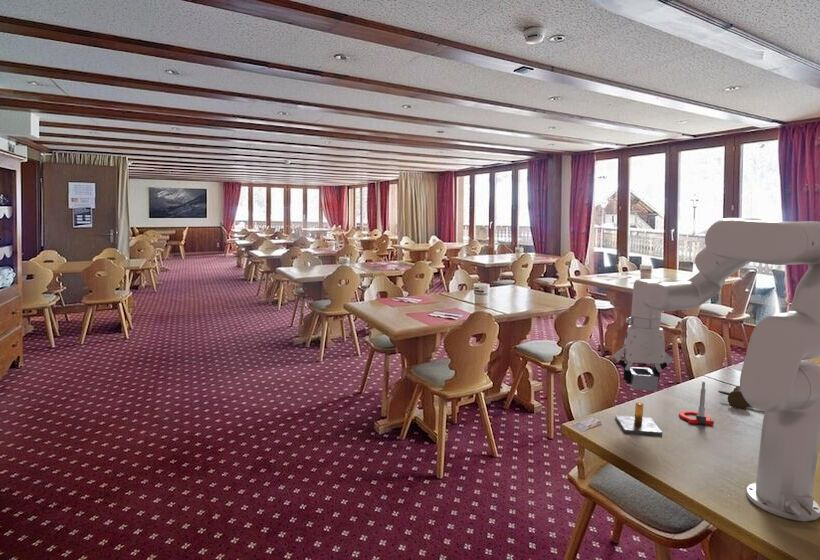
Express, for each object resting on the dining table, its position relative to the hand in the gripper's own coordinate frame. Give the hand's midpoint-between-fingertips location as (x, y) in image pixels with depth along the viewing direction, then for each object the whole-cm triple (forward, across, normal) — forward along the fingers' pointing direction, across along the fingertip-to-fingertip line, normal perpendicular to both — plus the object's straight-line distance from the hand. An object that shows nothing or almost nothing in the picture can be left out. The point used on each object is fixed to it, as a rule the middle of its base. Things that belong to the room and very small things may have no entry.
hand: (640, 382), depth 138 cm
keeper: (+13, 0, 0) cm, 13 cm away
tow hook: (+14, +19, +9) cm, 25 cm away
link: (+1, 0, 0) cm, 1 cm away
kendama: (+14, +41, +21) cm, 49 cm away
